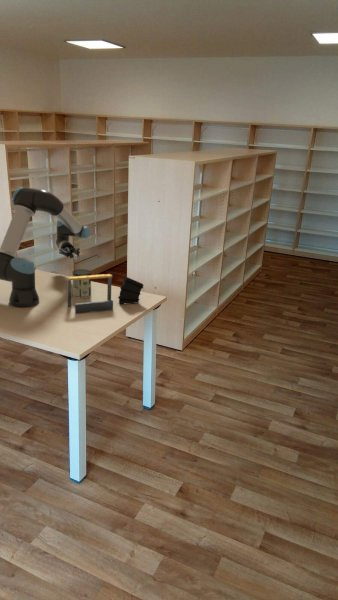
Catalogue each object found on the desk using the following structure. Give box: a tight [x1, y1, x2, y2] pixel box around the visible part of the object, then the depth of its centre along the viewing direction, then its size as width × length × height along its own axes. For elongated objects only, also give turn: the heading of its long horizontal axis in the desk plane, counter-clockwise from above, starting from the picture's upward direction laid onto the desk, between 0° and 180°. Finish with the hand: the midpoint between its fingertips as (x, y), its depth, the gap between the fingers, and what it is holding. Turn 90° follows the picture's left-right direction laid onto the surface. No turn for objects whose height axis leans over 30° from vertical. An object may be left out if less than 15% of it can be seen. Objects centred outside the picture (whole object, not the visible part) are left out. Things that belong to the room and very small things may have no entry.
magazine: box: [117, 276, 144, 305], centre depth 242 cm, size 4×13×15 cm, turn 114°
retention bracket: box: [66, 273, 114, 315], centre depth 229 cm, size 24×11×16 cm, turn 116°
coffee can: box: [72, 268, 92, 299], centre depth 246 cm, size 10×10×14 cm
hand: (76, 257), depth 254 cm, fingers closed
